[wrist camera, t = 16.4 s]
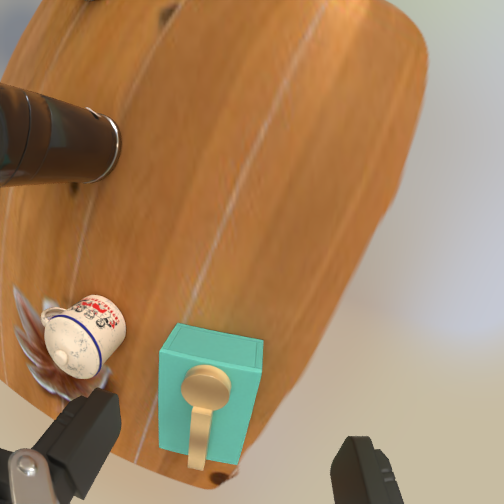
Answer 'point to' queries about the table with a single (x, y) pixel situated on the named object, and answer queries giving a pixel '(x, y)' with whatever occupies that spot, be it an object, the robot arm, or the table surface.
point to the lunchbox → (215, 345)
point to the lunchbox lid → (223, 421)
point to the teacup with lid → (83, 335)
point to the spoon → (203, 407)
